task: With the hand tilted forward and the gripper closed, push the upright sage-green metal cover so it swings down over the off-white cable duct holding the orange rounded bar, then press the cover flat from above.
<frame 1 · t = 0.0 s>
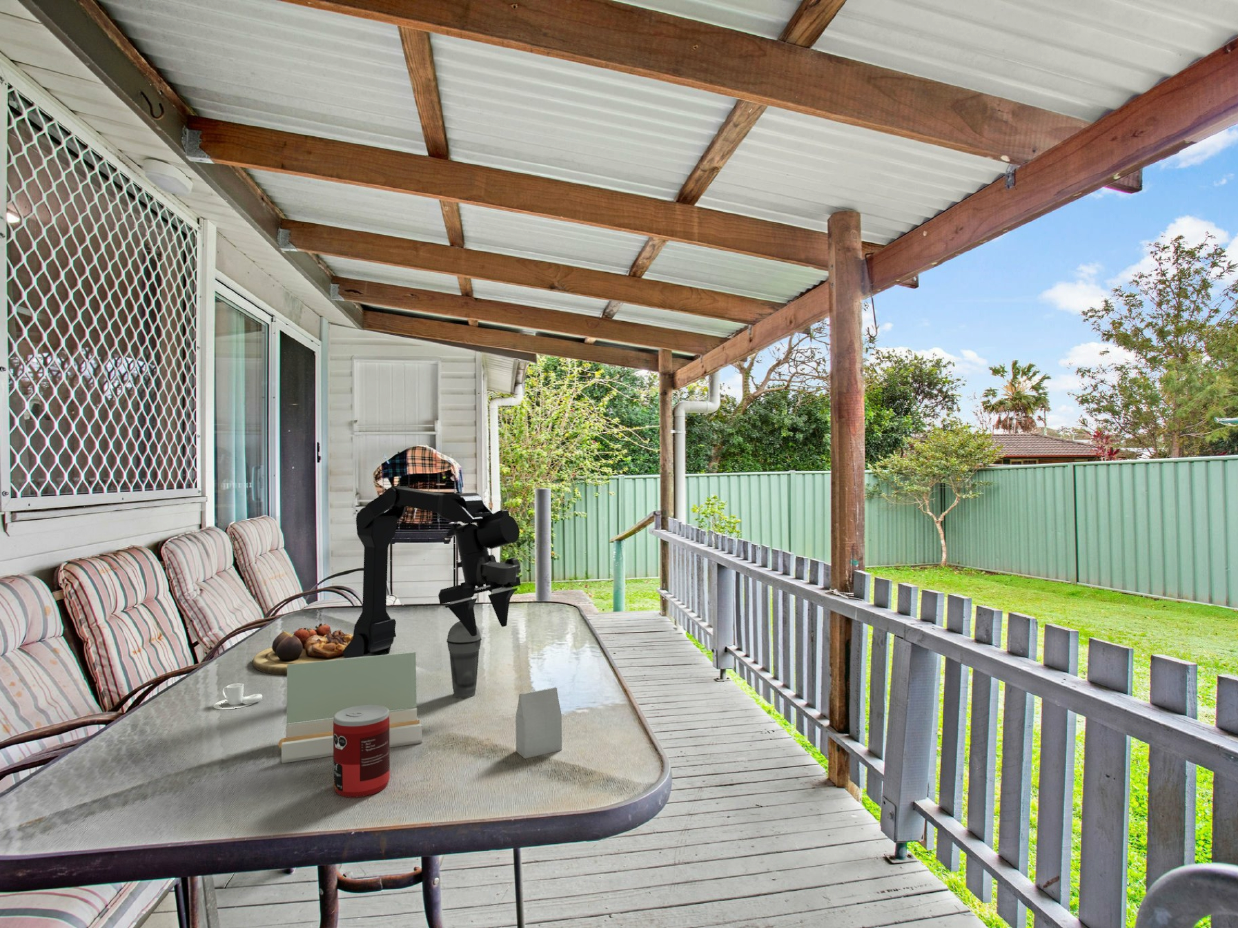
hand: (489, 630, 138), 15 cm above the table, tool pointing down, fingers open, 9 cm apart
wooden plate with food: (323, 659, 178), on the table
cable duct: (353, 741, 121), on the table
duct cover: (353, 685, 127), point 8 cm above the table, hinge at 98.0°
teacup and saucer: (236, 710, 140), on the table
tea bag: (538, 751, 117), on the table
canned food: (362, 787, 104), on the table
beverage cup: (464, 695, 147), on the table
orange rounded bar: (353, 741, 121), resting on cable duct
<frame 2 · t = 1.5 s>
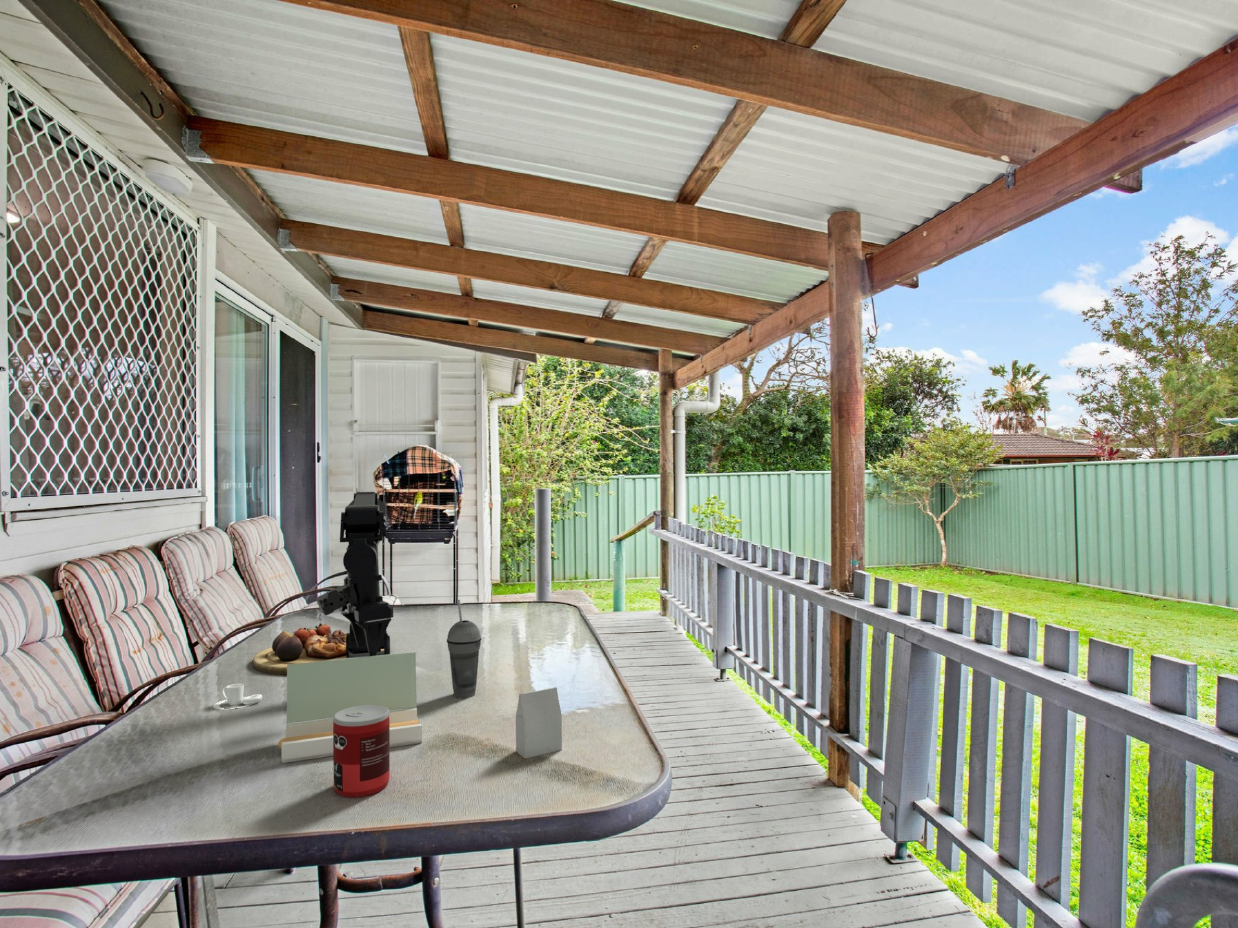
hand: (366, 651, 134), 13 cm above the table, tool pointing down, fingers open, 9 cm apart
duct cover: (353, 685, 127), point 8 cm above the table, hinge at 98.5°, touching gripper
everything else where it was.
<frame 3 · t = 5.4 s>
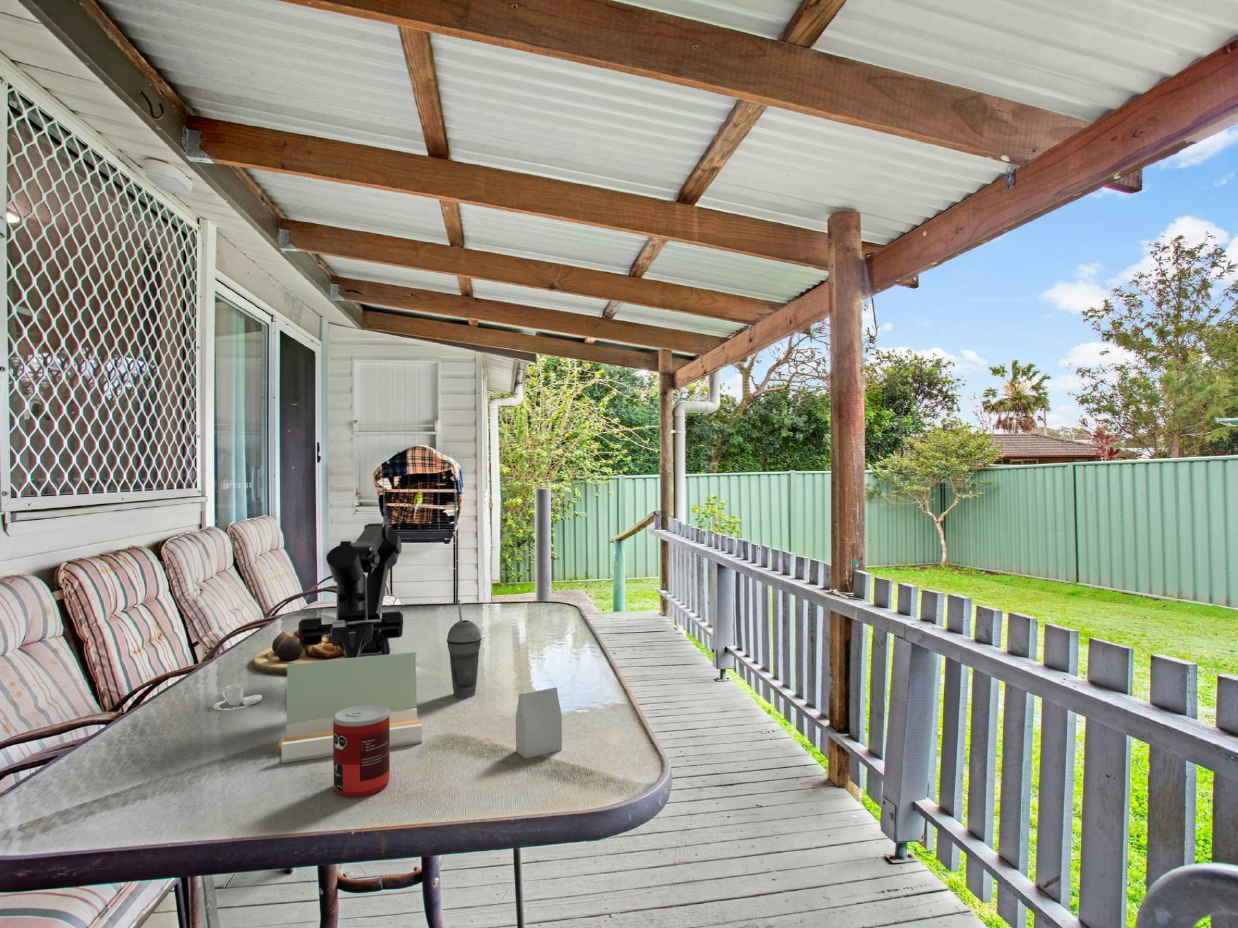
hand: (352, 666, 129), 11 cm above the table, tool tilted 45°, fingers closed, pressing on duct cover
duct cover: (353, 685, 127), point 8 cm above the table, hinge at 99.3°, touching gripper
everything else where it was.
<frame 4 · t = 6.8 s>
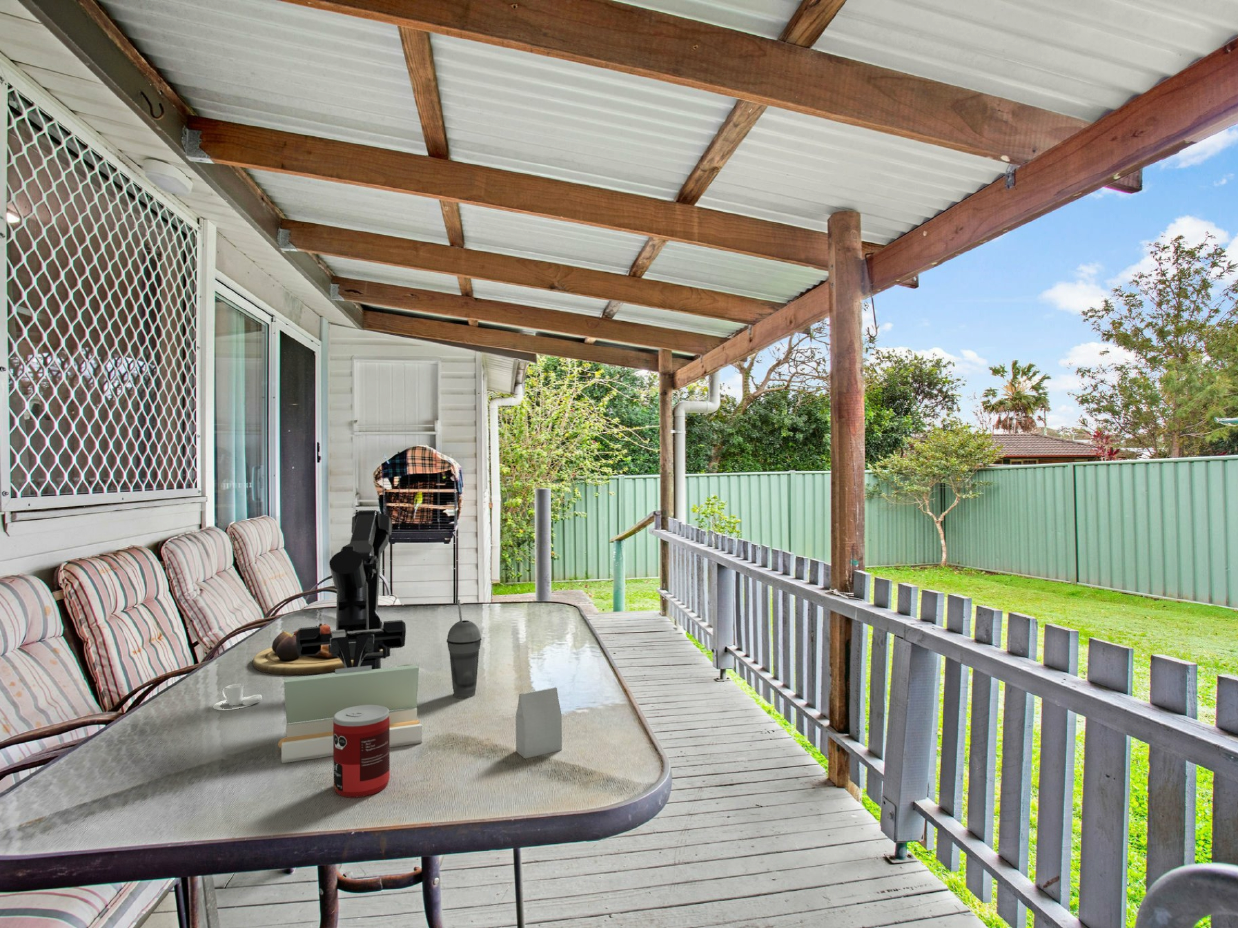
hand: (352, 679, 123), 10 cm above the table, tool tilted 45°, fingers closed, pressing on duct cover
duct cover: (353, 691, 124), point 8 cm above the table, hinge at 59.6°, touching gripper
everything else where it was.
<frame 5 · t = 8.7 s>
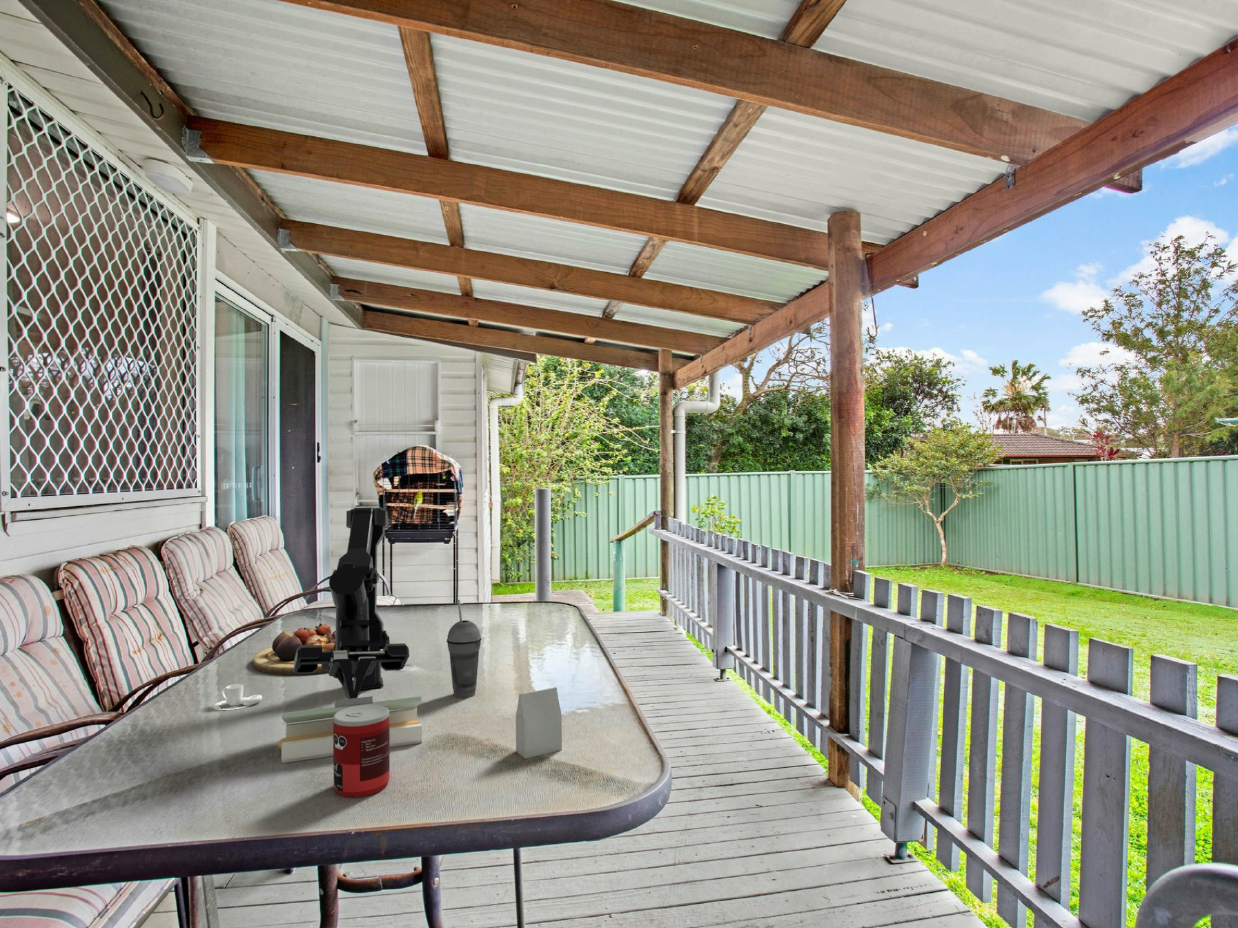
hand: (352, 703, 119), 7 cm above the table, tool tilted 40°, fingers closed
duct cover: (353, 706, 122), point 6 cm above the table, hinge at 22.9°, touching gripper
everything else where it was.
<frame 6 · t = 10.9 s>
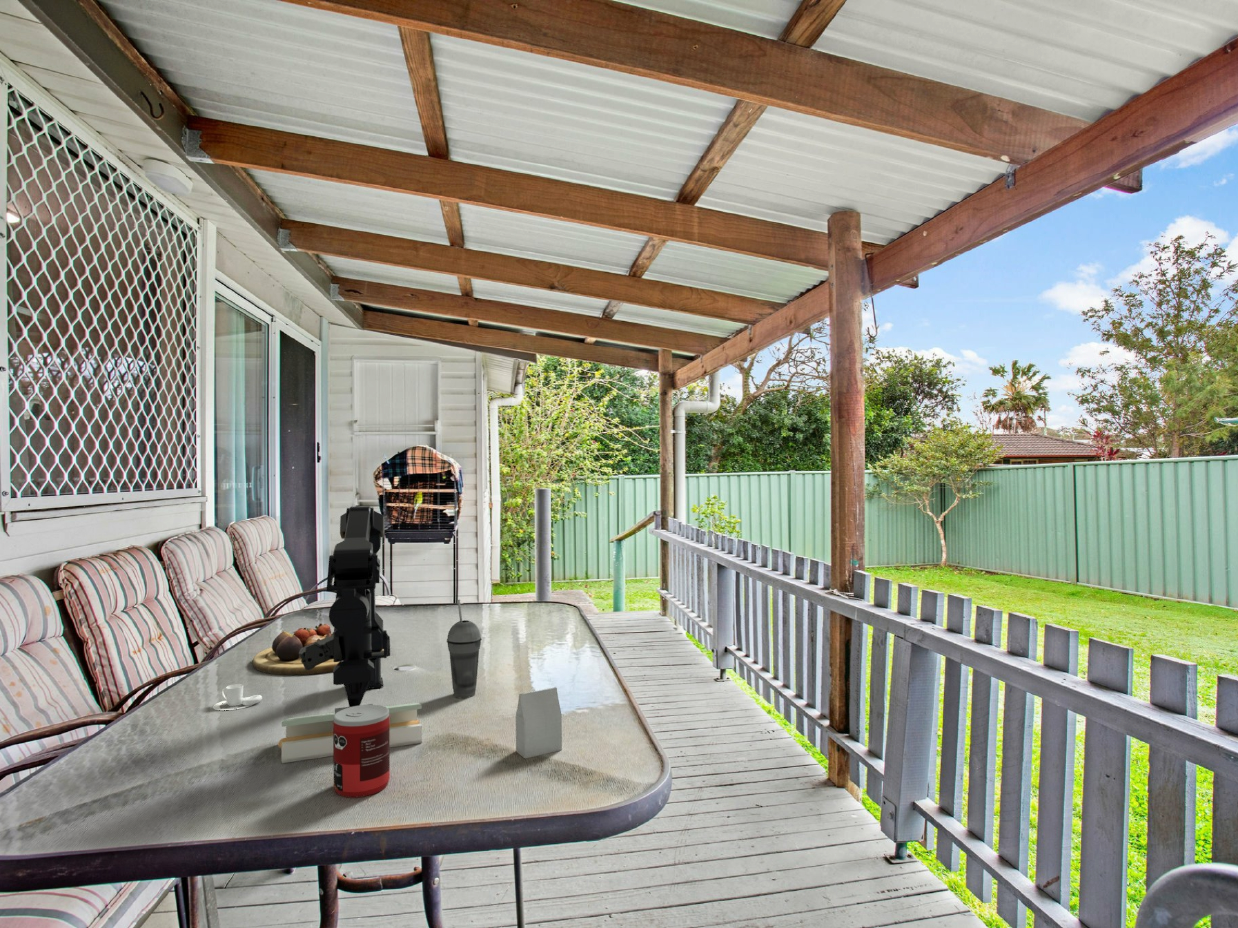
hand: (353, 711, 119), 6 cm above the table, tool pointing down, fingers closed, pressing on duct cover
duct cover: (353, 710, 122), point 5 cm above the table, hinge at 15.4°, touching gripper
everything else where it was.
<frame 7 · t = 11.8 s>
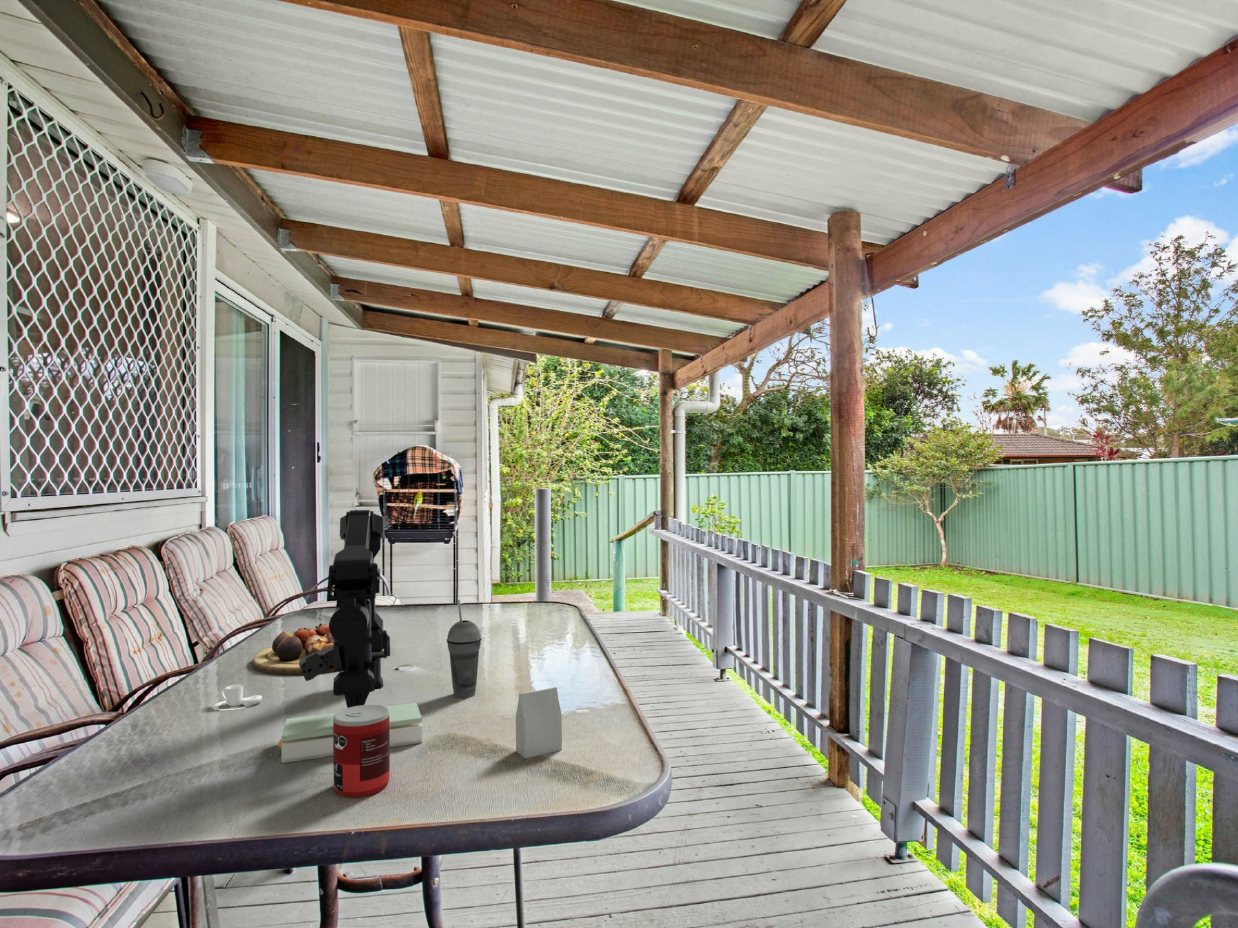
hand: (354, 722, 119), 4 cm above the table, tool pointing down, fingers closed
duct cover: (353, 717, 121), point 4 cm above the table, hinge at 2.5°
everything else where it was.
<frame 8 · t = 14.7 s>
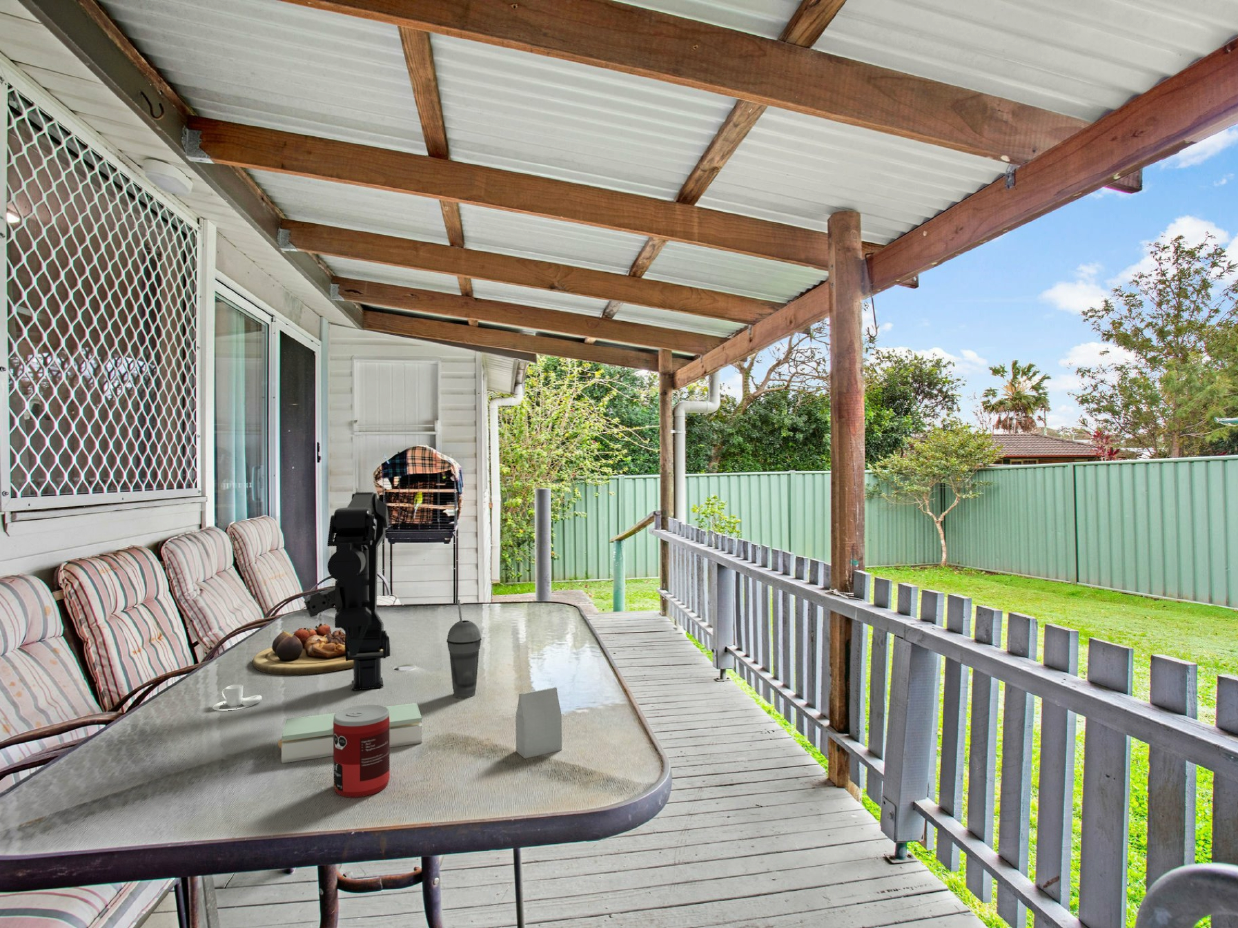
hand: (353, 655, 133), 12 cm above the table, tool pointing down, fingers closed
nothing on the table moved.
at the end: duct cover at +2° (first picture: +98°) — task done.
